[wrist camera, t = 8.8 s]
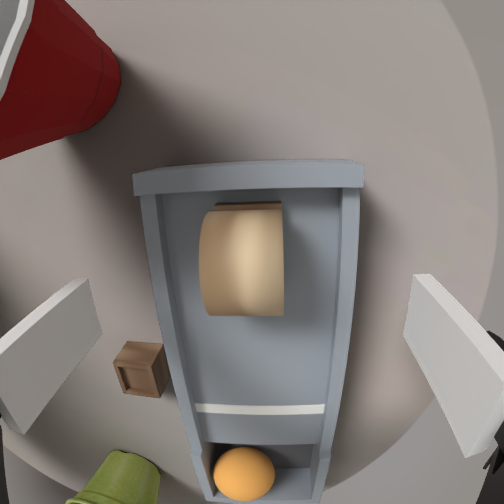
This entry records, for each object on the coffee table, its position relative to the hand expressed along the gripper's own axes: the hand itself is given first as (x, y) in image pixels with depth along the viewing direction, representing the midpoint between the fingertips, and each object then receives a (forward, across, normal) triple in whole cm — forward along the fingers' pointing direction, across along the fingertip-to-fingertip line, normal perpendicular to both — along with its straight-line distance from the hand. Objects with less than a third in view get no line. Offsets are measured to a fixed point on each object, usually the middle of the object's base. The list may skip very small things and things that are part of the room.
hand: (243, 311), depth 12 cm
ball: (+4, -2, -18) cm, 18 cm away
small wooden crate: (+7, -8, -8) cm, 13 cm away
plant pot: (+7, -14, -24) cm, 28 cm away
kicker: (+4, 0, +1) cm, 4 cm away
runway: (+7, 0, -8) cm, 11 cm away
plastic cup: (+7, -10, +11) cm, 17 cm away
